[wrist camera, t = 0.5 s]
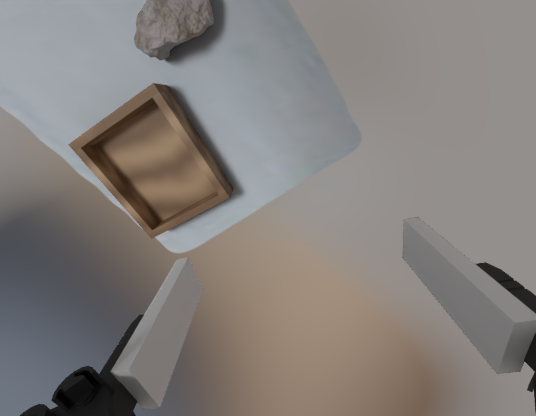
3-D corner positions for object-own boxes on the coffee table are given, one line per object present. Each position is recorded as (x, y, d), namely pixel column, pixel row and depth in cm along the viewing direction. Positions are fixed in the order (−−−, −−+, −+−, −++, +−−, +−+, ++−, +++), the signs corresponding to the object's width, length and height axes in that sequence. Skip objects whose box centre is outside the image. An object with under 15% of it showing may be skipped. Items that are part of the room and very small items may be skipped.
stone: (186, 81, 33) (170, 77, 27) (135, 38, 31) (106, 25, 26) (225, 13, 29) (214, -7, 24) (169, -40, 27) (144, -74, 22)
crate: (88, 140, 36) (68, 144, 33) (166, 85, 33) (153, 83, 29) (162, 227, 43) (151, 238, 39) (233, 188, 39) (229, 197, 36)
